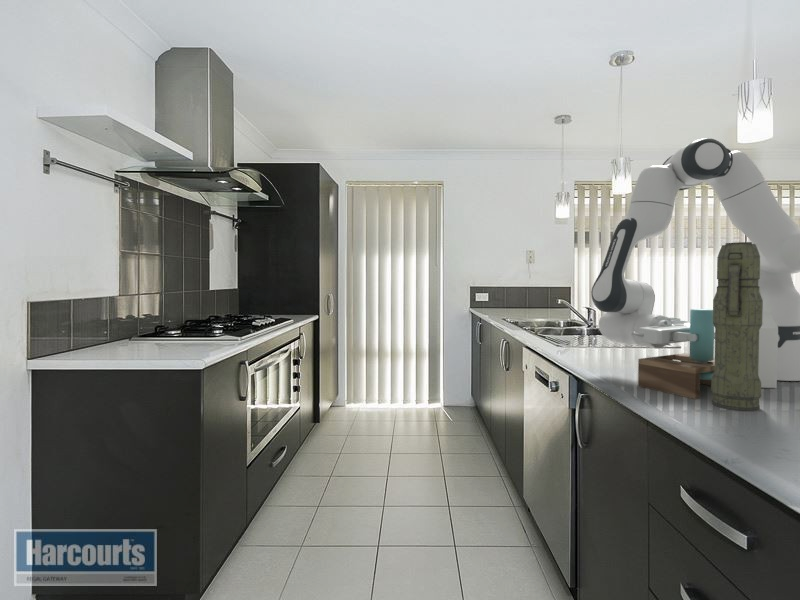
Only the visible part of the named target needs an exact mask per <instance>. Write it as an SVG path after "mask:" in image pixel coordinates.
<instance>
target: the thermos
mask: <svg viewBox="0 0 800 600" xmlns="http://www.w3.org/2000/svg"><path fill="white" fill-rule="evenodd" d="M716 258H717V259H716V263H717V264H716V280H717V285H716V293H715V295H714V296H713V299H712V310H713V324H714V332H715V339H714V357H715V369H714V373H713V376H712V378H711V385H710V390H711V391H710V393H711V395H712V396H711V404H712V405H713V406H716V407H718V408H722V409H726V410H733V411H740V412H742V411H743V412H745V411H746V412H747V411H748V412H755V411H759V410H760V409H761V406H760V399H761V397H762V388H761V381H760V378H759V376H758V365H759V330H760V328H761V326H762V312H763V300H762V297H761V295H760V292H759V288H760V287H759V286H758V279H760V254H759V251H758V249H757V246H756V244H752V242H747V241H742V242H741V241H740V242H726V243H725V244H723V245H721V247H720V250H719V251H718V254H717V257H716Z"/></svg>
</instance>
